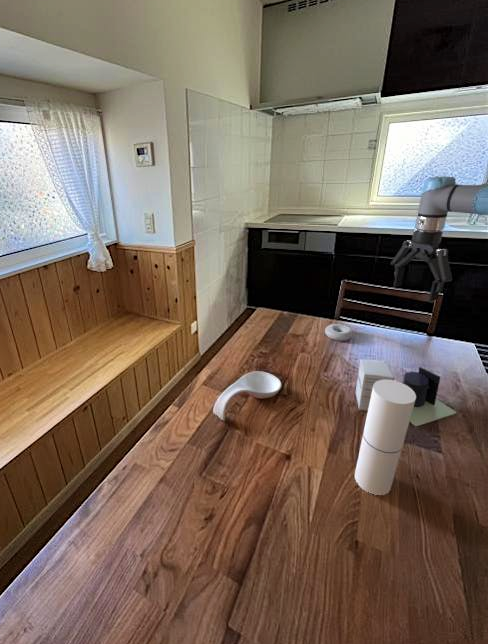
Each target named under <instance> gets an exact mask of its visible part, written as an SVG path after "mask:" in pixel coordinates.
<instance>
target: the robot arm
mask: <svg viewBox="0 0 488 644" xmlns="http://www.w3.org/2000/svg"><path fill="white" fill-rule="evenodd" d="M456 181H457V179H456V177H455V176H431V177H428V178H426V179H425V180H424V182H423V183H424V184H423V187H422V190H421V192H420V200H419V205H418V210H417V214H416V219H415V222H414V223H415V224H414V230H413V233H412V238H411V240H404V241H403V242H402V246H401V248H400V249H399V251H398V252H397V254H396V255H395V256H394V258H393V259H392V260H391V262H390V265H391V266H393V267H394V273H393V276H394V280H393V286H392V287H394V288H397V287H402V285H403V280H404V274H405V270H406V268H405V266H406V265H408V263H410V262H411V261H412V260H413V259H420V260H423V261H425V263H426V264H428V267H429V269H430V271H431V274H432V275H433V278H434V280H433V281H432V284H431V288H430V292H429V295H428V296H429V297H428V301H429V302H434V301H438V298H439V294H440V293H441V292H442V291H443V288H444V284H445V283H448V282H452V281H453V275H452V272H451V267H450V262H449V258H448V256H449V249H448V248H442V249H441V248H439V245H440V243H441V242H442V239H443V238H442V237H443V234H444V233H443V232H444V231H443V230H444V229H445V225H446V222H447V216H448V213H459V214H469V215H470V214H471V215H478V216H488V182H487V183H482V184H481V183H480V184H456V183H457V182H456ZM410 249H411V251H410ZM409 251H410V252H409ZM408 252H409V253H408Z"/></svg>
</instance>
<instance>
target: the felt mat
mask: <svg viewBox="0 0 488 644" xmlns="http://www.w3.org/2000/svg"><path fill="white" fill-rule="evenodd" d="M456 414H458V412H457V411H455V410H454V409H452V408H451V407H449V406H448V405H446V404H445V403H444V402H442V401H440V399H438V398H436V401H435V405H432V404H430V403H428V402H427V401H425V404H424V405H423V406H420V407H413V410H412V414H411V418H410V421H409V423H411V424H412V425H413V426H414V427H416V428H417V427H419V426H423V425H427V424H429V423H431V422H435V421H438V420H442V419H444V418H447V417H451V416H454V415H456Z"/></svg>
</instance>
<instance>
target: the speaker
mask: <svg viewBox="0 0 488 644" xmlns="http://www.w3.org/2000/svg"><path fill="white" fill-rule="evenodd" d="M440 381H441V376H440V375H437V374H435V373H434V372H432V371H430V370H427V369H426V368H423V367H419V368H418V372H417V371H408V372H405V374H404V375H403V384H405V385H407V386H408V387H410V388H411V389H412V390H413V391H414V392H415V394H416V400H415V403H414V407H420V406H423V405H424V404H425V401H427V402H428V403H430V404H432V405H435V401H436V399H437V395H438V391H439V388H440V387H439V385H440Z"/></svg>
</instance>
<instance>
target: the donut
mask: <svg viewBox="0 0 488 644" xmlns="http://www.w3.org/2000/svg"><path fill="white" fill-rule="evenodd" d="M324 333H325V335H326V337H328V338H329V339H330V340H334V341H338V342H344V341H345V342H346V341H348V340H350V339H351V338H352V337H353V336H354V335H353V334H354V333H353V330H352V328H350V327H349V326H347V325H345V324H339V323H331V324H329V325H327V326H326V327H325V329H324Z"/></svg>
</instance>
